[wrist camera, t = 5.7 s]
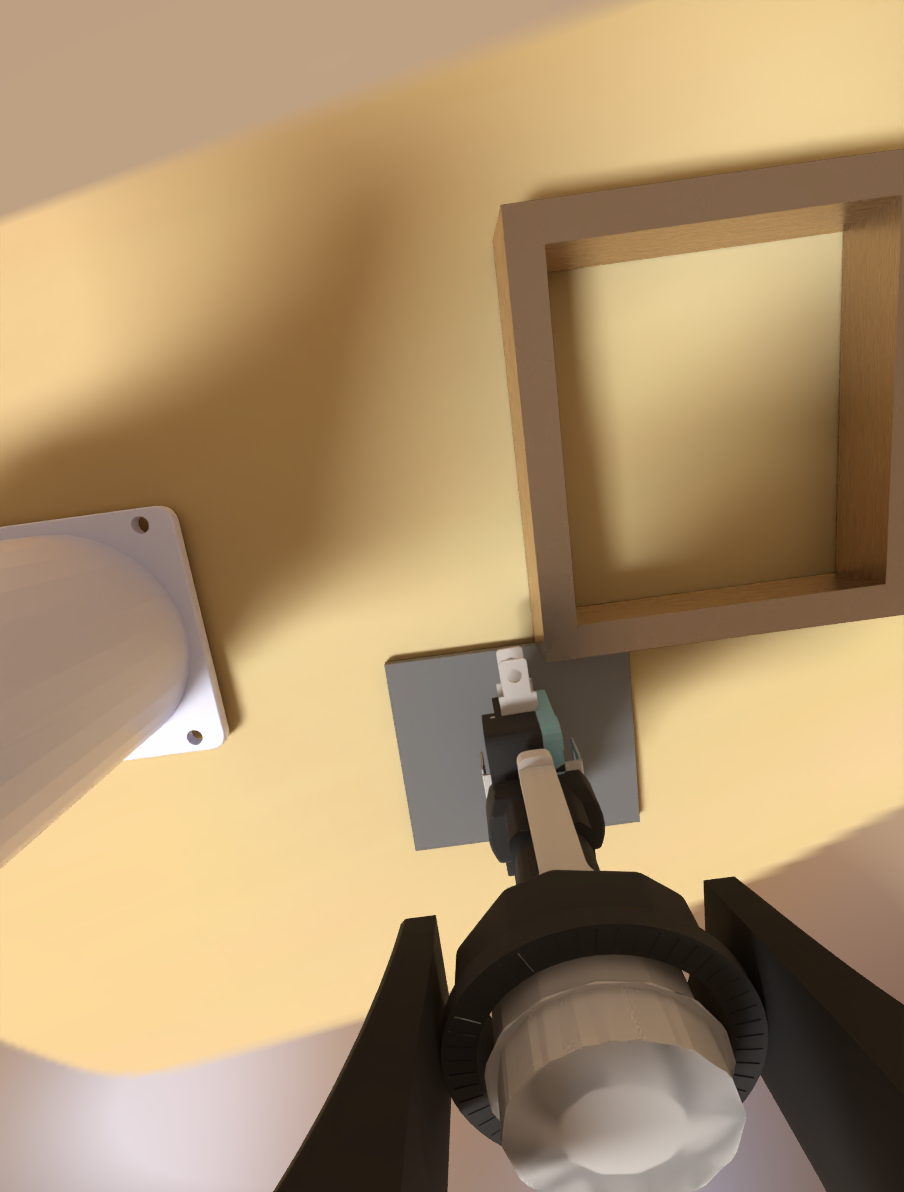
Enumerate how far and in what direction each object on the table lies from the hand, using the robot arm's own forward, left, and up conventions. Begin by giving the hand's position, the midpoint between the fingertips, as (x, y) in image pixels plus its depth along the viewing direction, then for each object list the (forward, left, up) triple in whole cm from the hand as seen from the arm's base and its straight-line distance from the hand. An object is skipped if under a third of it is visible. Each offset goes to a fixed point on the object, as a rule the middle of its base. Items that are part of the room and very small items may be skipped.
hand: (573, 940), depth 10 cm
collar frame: (+6, +10, -8) cm, 14 cm away
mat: (0, 0, -8) cm, 8 cm away
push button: (0, +1, -7) cm, 7 cm away
